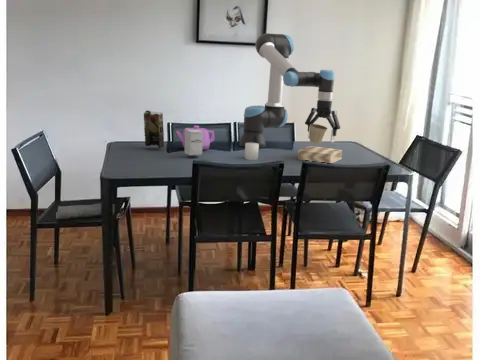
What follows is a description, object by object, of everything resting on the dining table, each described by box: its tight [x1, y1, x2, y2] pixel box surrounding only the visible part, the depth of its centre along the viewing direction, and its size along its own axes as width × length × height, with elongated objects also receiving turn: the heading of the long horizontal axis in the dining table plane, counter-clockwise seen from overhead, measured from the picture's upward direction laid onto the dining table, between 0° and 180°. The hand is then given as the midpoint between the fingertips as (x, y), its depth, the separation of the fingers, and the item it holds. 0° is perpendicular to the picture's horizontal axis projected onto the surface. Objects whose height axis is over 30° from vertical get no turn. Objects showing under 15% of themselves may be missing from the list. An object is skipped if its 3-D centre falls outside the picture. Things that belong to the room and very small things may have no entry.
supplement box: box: [184, 130, 203, 156], centre depth 300 cm, size 7×7×13 cm
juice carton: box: [143, 110, 165, 149], centre depth 314 cm, size 20×10×6 cm
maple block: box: [297, 145, 343, 164], centre depth 305 cm, size 18×18×5 cm
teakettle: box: [175, 125, 215, 150], centre depth 320 cm, size 17×17×12 cm
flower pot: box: [309, 123, 328, 145], centre depth 304 cm, size 9×9×9 cm
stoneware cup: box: [244, 142, 260, 161], centre depth 296 cm, size 7×7×8 cm
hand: (320, 140), depth 303 cm, fingers open, 13 cm apart
